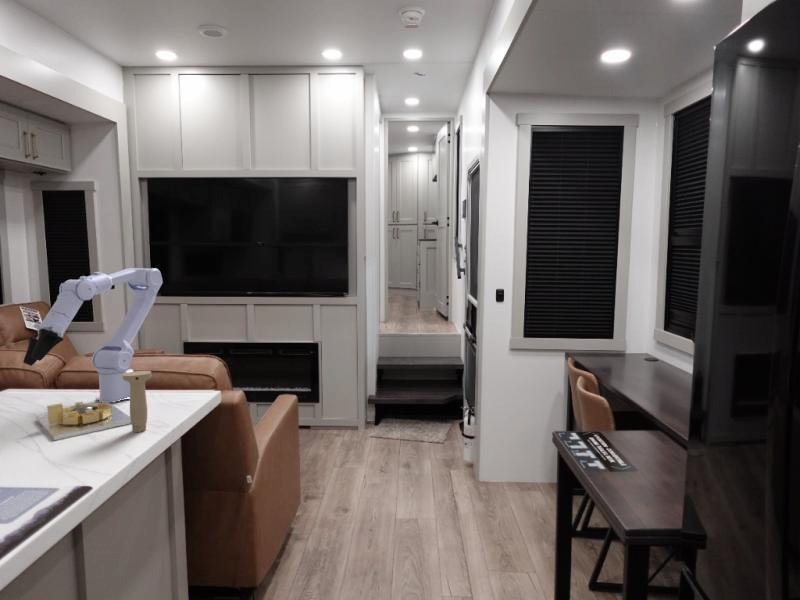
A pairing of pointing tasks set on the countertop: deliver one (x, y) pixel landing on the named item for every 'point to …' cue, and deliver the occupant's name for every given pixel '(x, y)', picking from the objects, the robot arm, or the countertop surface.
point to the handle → (138, 398)
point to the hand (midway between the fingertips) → (31, 361)
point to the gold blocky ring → (74, 417)
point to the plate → (70, 430)
